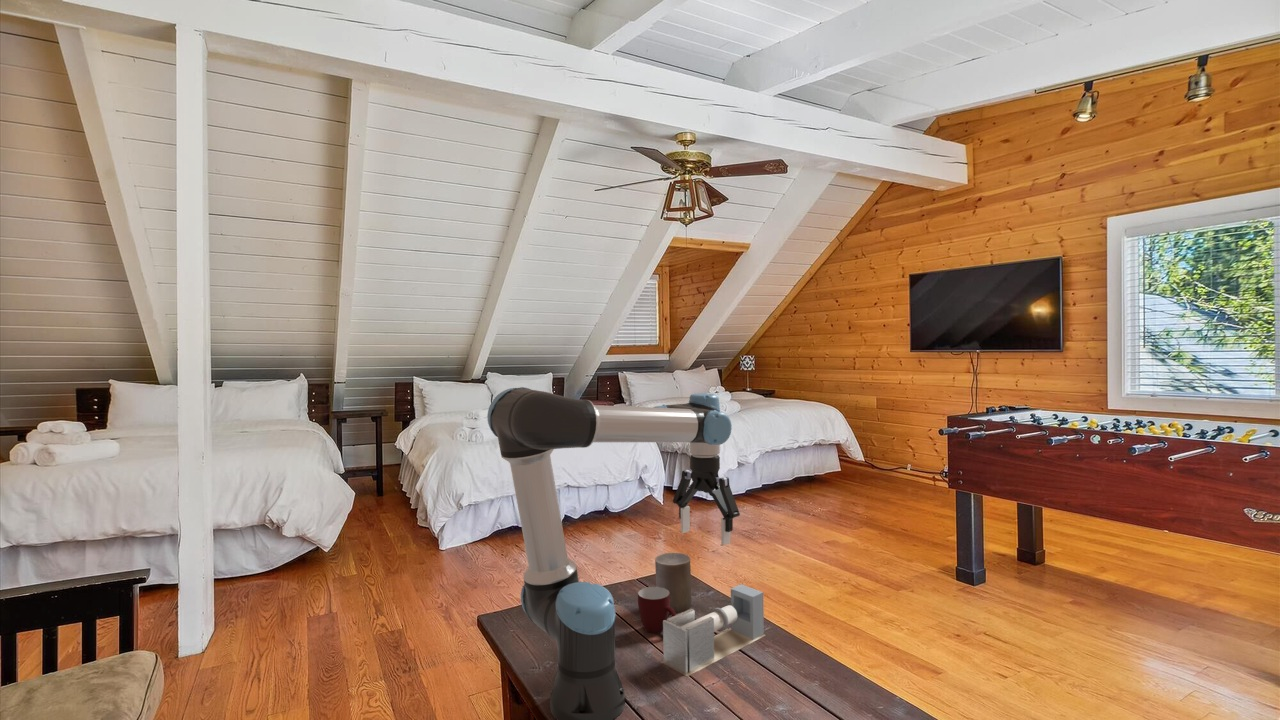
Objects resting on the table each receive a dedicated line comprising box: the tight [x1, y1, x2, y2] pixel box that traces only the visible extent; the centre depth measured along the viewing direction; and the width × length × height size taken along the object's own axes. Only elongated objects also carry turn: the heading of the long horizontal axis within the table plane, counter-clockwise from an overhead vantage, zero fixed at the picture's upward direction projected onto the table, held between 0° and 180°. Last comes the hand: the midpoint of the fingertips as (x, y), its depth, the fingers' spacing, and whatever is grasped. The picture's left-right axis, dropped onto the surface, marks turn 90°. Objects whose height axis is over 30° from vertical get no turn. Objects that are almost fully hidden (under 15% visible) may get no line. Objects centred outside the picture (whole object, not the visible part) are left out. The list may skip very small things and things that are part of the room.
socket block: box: [730, 583, 765, 640], centre depth 162 cm, size 4×7×10 cm, turn 41°
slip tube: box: [681, 604, 737, 633], centre depth 152 cm, size 18×5×5 cm, turn 131°
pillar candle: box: [654, 552, 693, 616], centre depth 178 cm, size 10×10×15 cm
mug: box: [637, 586, 677, 634], centre depth 164 cm, size 11×8×10 cm
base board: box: [660, 627, 766, 677], centre depth 154 cm, size 28×8×1 cm, turn 131°
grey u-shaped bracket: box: [662, 608, 715, 676], centre depth 148 cm, size 9×7×10 cm
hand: (705, 537), depth 166 cm, fingers open, 13 cm apart
